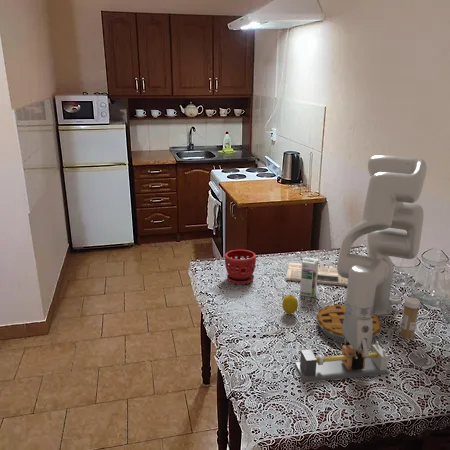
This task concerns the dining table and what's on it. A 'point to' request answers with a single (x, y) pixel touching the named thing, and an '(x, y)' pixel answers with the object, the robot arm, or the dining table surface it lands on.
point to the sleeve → (349, 356)
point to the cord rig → (340, 366)
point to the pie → (339, 322)
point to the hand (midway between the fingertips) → (352, 362)
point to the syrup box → (309, 277)
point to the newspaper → (324, 274)
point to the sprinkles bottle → (409, 317)
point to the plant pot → (240, 266)
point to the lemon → (290, 304)
